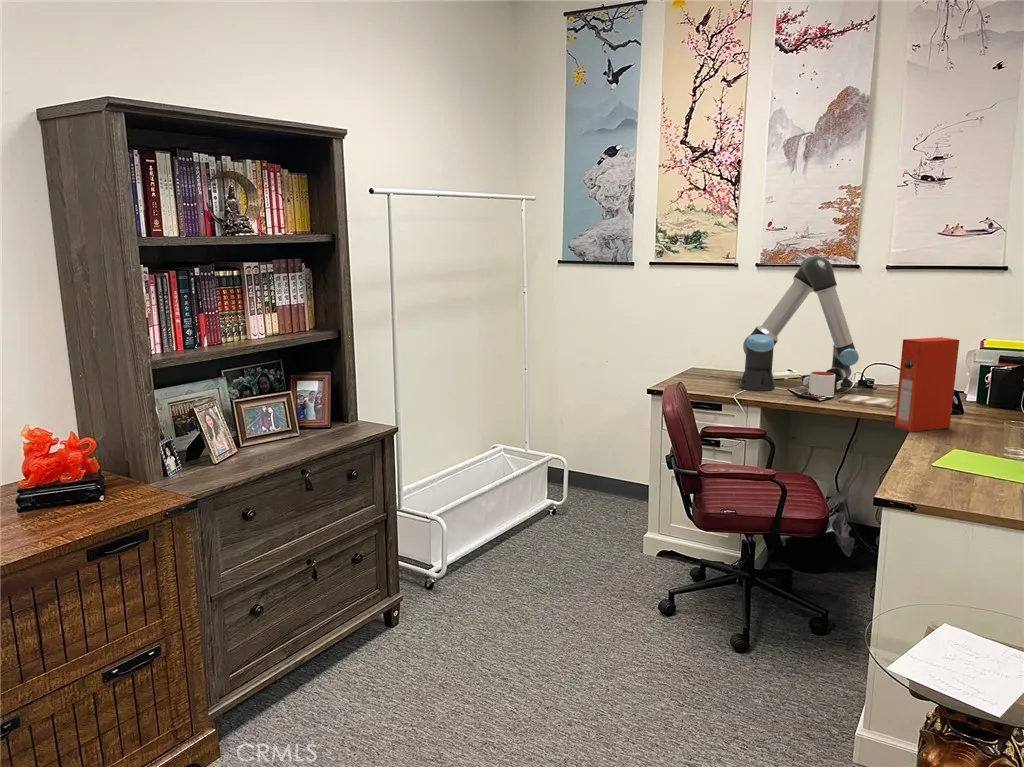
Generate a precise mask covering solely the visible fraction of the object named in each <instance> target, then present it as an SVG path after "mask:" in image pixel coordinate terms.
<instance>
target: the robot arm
mask: <svg viewBox="0 0 1024 767" xmlns="http://www.w3.org/2000/svg"><path fill="white" fill-rule="evenodd" d="M792 278H793V283H792V284H791V286H789V287H788V289H787V290H786V292H785V293H784V295H783V296H782V297H781V299H780V300H779V301H778V303H777V304H776V305H775V307H774V308H773V309H772V311H771V312H770V314H769V315H768V316H767V318H766V319H765V321H764V322H762V324H761V325H759V326H755V328H754V329H753V331H752V332H751V333H750V334H749V335H748V336H746V338H745V340H744V341H743V344H742V345H743V346H742V348H743V353H744V354H745V361H744V362H745V364H744V372H743V374H742V376H741V379H740V381H739V388H740V389H743V390H749V391H756V392H758V391H759V392H767V391H774V390H775V388H776V382H775V378H774V375H773V361H774V347H775V345H776V344H777V343H778V341H779V339H778V338H779V337H778V336H779V334H780V333H781V332H782V331H783V329H784V328H785V327H786V325H787V324H788V323H789V321H790V320H791V318H793V316H794V315H795V314H796V312H797V311H798V309H799V308H800V307H801V306H802V304H803V303H804V301H805V300H806V298H807V297H809V295H810V294H811V293H813V292H814V293H815V294H817V297H818V300H819V303H820V307H821V309H822V311H823V312H822V313H823V315H824V318H825V321H826V323H827V326H828V330H829V334H830V337H831V339H832V342H833V346H832V347H833V350H832V361H831V362H832V363H831V364H832V365H831V368H830V369H827V370H826V371H825V372H830V373H834V374H835V386H836V387H835V386H834V387H835V388H836V389H837V390H839V389H841V388H842V387H843V388H844V387H848V388H850V387H851V385H852V380H851V379H850V377H851V375H852V369H851V367H852V366H854V365H856V364H857V363H858V362H859V358H860V357H859V352H858V350H856V346H855V344H854V341H853V338H852V335H851V332H850V328H849V325H848V323H847V319H846V316H845V313H844V311H843V307H842V304H841V301H840V298H839V295H838V292H837V289H836V288H837V286H838V284H837V280H836V276H835V272H834V268H833V265H832V264H831V262H830V260H828V259H827V258H825V257H821V256H817V255H816V256H815V255H813V256H809V257H807V258H805V259H804V260H803V261H802V262H801V264H800V266H799V268H798V270H797V271H796V273H795V274H794V275H793V277H792ZM809 381H810V374H804V375H801V382H802V384H803V386H806V385H809Z"/></svg>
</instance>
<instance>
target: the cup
mask: <svg viewBox="0 0 1024 767" xmlns="http://www.w3.org/2000/svg"><path fill="white" fill-rule="evenodd" d="M809 375H810V381H809V383H808V393H809V392H810V393H811V394H814V395H818V396H833V397H834V396H835V374H834V373H830V372H826V371H811V372H810V373H809Z"/></svg>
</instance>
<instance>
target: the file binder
mask: <svg viewBox="0 0 1024 767" xmlns="http://www.w3.org/2000/svg"><path fill="white" fill-rule="evenodd" d="M959 347H960V339H957V338H956V339H955V338H950V337H944V336H943V337H942V336H941V337H939V336H938V337H922V338H905V339H904V338H903V339H902V347H901V356H900V357H901V359H900V366H899V367H900V368H899V377H898V390H897V397H896V398H897V399H896V400H897V405H896V408H895V409H896V410H895V421H894V428H897V429H900V430H904V431H908V432H910V433H912V432H913V433H914V432H920V431H921V432H922V431H931V430H932V431H933V430H942V429H944V430H945V429H950V428H951V419H952V410H953V403H954V402H953V401H954V393H955V383H956V376H957V374H956V373H957V365H958V357H959V349H960V348H959Z"/></svg>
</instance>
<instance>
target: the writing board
mask: <svg viewBox="0 0 1024 767" xmlns="http://www.w3.org/2000/svg"><path fill="white" fill-rule="evenodd" d="M838 401H840V402H839V403H841V402H845V403H844V404H849V403H851V404H850V405H857V404H858V405H859V406H865V405H866V407H872V406H873V407H874V408H880V407H883V408H882V409H888V408H892V407H893V408H894V407H895V406H897V405H896V404H897V399H896V400H895V399H890V398H882V397H873V396H864V395H857V394H849V393H848V394H846V395H844V396H843V397H841V398H839V399H838ZM893 408H892V409H893Z"/></svg>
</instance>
